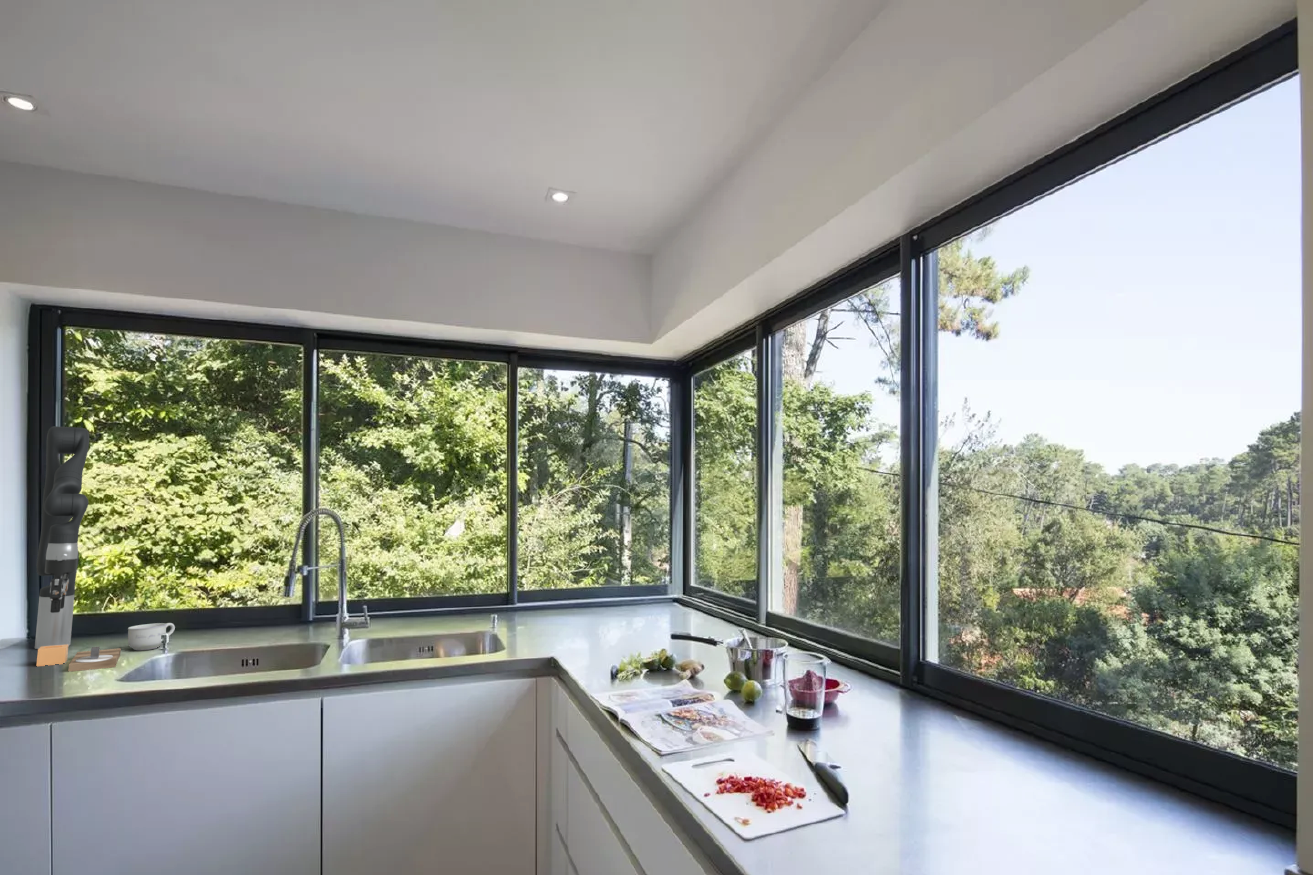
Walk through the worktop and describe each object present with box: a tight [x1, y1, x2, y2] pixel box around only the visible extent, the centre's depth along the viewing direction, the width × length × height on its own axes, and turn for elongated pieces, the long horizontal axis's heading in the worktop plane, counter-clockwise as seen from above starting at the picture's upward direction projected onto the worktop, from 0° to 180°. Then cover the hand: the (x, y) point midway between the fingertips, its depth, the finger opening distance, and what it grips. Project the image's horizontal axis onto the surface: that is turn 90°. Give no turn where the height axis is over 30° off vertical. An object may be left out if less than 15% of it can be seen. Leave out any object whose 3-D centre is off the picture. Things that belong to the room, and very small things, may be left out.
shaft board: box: [67, 646, 122, 672], centre depth 218 cm, size 20×11×5 cm, turn 34°
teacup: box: [127, 622, 176, 651], centre depth 240 cm, size 14×11×8 cm
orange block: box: [36, 644, 69, 667], centre depth 217 cm, size 7×5×5 cm
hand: (57, 610), depth 218 cm, fingers open, 8 cm apart
